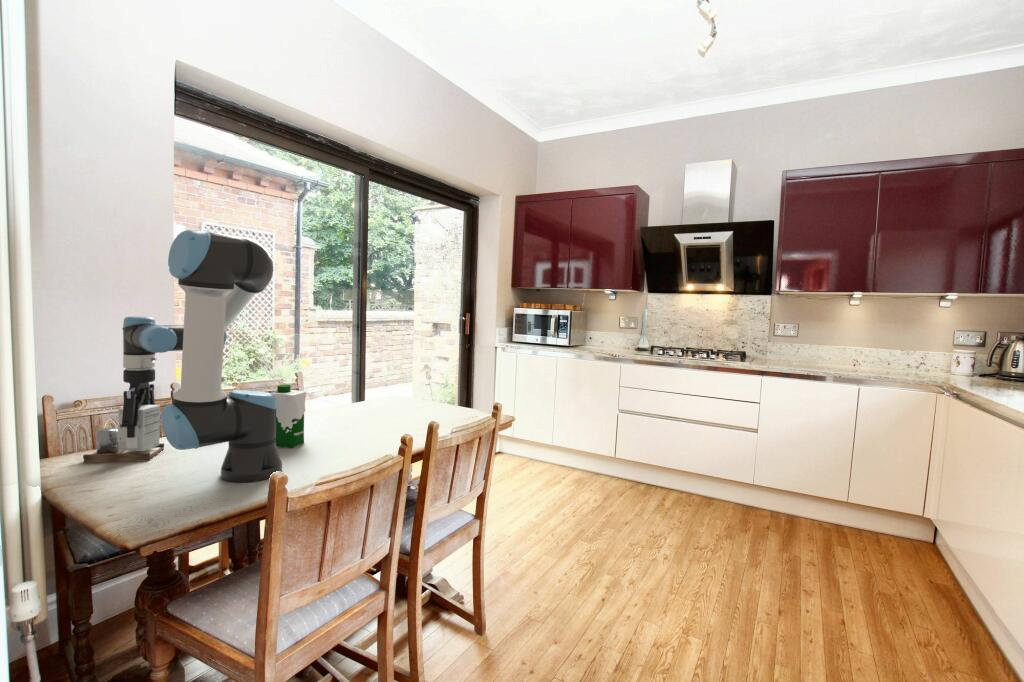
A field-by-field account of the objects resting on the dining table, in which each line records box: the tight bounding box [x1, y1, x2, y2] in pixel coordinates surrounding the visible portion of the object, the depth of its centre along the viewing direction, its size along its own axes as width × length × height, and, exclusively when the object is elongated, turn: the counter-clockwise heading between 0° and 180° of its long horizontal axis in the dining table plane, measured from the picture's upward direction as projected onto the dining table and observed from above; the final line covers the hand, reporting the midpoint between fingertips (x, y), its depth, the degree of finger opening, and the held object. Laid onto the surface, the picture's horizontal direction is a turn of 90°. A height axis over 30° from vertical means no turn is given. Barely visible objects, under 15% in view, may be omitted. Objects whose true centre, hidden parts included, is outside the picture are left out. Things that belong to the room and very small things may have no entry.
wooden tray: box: [82, 442, 165, 463], centre depth 144 cm, size 16×11×2 cm, turn 106°
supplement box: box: [117, 404, 161, 451], centre depth 145 cm, size 7×7×13 cm
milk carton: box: [271, 384, 307, 449], centre depth 163 cm, size 9×9×20 cm
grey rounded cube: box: [96, 426, 119, 454], centre depth 143 cm, size 5×5×7 cm
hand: (139, 443), depth 145 cm, fingers closed on supplement box, 8 cm apart
